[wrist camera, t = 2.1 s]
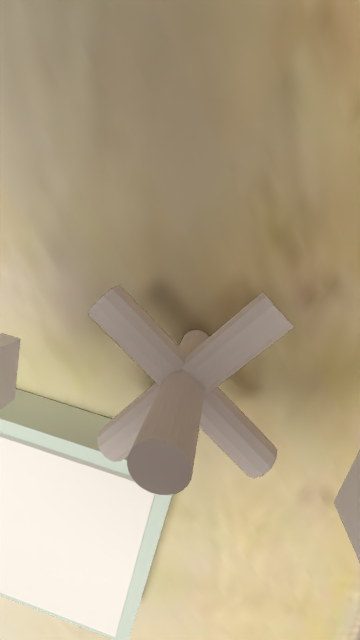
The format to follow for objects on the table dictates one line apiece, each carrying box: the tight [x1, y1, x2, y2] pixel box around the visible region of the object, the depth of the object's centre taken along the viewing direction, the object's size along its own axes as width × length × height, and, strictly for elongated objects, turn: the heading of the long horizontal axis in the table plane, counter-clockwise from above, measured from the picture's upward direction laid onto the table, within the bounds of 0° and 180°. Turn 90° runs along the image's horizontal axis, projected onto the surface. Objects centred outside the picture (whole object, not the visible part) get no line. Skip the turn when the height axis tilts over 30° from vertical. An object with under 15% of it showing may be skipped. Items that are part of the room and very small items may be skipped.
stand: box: [0, 389, 172, 640], centre depth 21 cm, size 16×16×3 cm
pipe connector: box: [88, 285, 294, 495], centre depth 12 cm, size 10×10×10 cm
